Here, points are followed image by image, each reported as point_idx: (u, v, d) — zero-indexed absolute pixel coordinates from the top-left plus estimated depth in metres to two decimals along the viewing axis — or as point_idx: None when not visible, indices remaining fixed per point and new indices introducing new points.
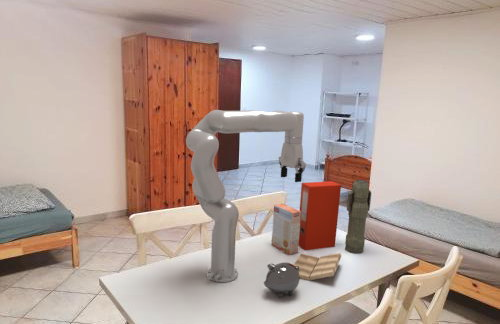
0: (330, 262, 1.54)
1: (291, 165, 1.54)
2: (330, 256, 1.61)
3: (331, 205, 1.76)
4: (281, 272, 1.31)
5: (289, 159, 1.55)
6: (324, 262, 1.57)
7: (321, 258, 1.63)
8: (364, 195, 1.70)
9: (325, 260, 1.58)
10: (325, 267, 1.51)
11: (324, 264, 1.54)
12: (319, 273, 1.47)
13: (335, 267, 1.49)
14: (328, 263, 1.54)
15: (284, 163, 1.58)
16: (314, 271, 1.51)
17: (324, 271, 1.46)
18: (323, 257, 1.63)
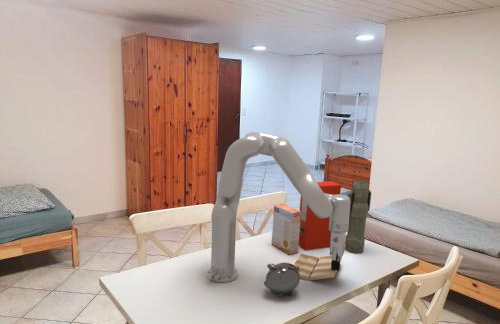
0: None
1: None
2: (331, 257, 1.61)
3: None
4: (281, 272, 1.31)
5: (344, 244, 1.45)
6: (324, 263, 1.56)
7: (321, 258, 1.63)
8: (364, 195, 1.70)
9: (325, 261, 1.58)
10: (325, 267, 1.51)
11: (324, 265, 1.54)
12: (319, 274, 1.46)
13: None
14: (328, 264, 1.54)
15: (343, 252, 1.43)
16: (314, 271, 1.51)
17: (325, 272, 1.46)
18: (323, 257, 1.63)
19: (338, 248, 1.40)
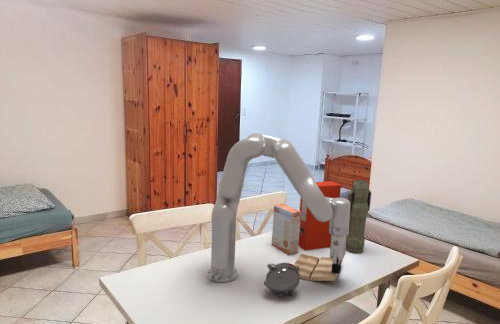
0: None
1: (345, 251, 1.47)
2: (331, 259, 1.61)
3: None
4: (281, 272, 1.31)
5: (345, 247, 1.46)
6: (325, 264, 1.56)
7: (322, 259, 1.63)
8: (364, 195, 1.70)
9: (326, 262, 1.58)
10: (326, 269, 1.51)
11: (325, 266, 1.54)
12: (320, 275, 1.46)
13: None
14: (329, 266, 1.54)
15: (343, 256, 1.43)
16: (315, 272, 1.50)
17: (326, 274, 1.46)
18: (324, 258, 1.63)
19: (338, 251, 1.40)
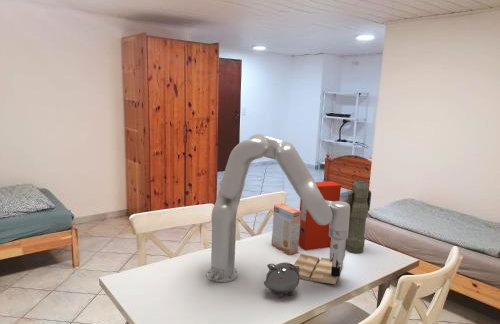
0: None
1: None
2: None
3: None
4: (281, 272, 1.31)
5: (344, 250, 1.46)
6: (326, 266, 1.56)
7: (322, 260, 1.63)
8: (364, 195, 1.70)
9: (327, 264, 1.58)
10: (327, 271, 1.51)
11: (326, 268, 1.54)
12: (321, 277, 1.46)
13: None
14: (330, 268, 1.54)
15: (343, 259, 1.43)
16: (316, 273, 1.50)
17: (327, 277, 1.46)
18: (325, 259, 1.63)
19: (338, 255, 1.40)
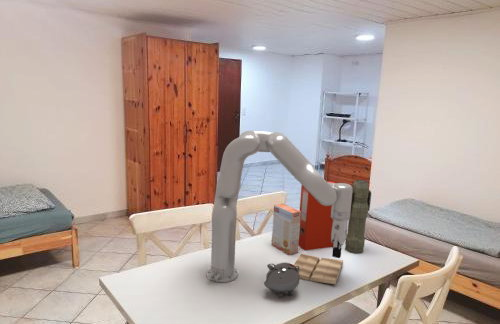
0: (333, 268, 1.54)
1: (346, 236, 1.50)
2: (332, 261, 1.61)
3: (331, 205, 1.76)
4: (281, 272, 1.31)
5: (346, 232, 1.48)
6: (326, 266, 1.56)
7: (322, 260, 1.63)
8: (364, 195, 1.70)
9: (327, 264, 1.58)
10: (327, 271, 1.51)
11: (326, 268, 1.54)
12: (321, 277, 1.46)
13: (337, 275, 1.49)
14: (330, 268, 1.54)
15: (344, 240, 1.45)
16: (316, 273, 1.50)
17: (327, 277, 1.46)
18: (325, 259, 1.63)
19: (339, 235, 1.42)
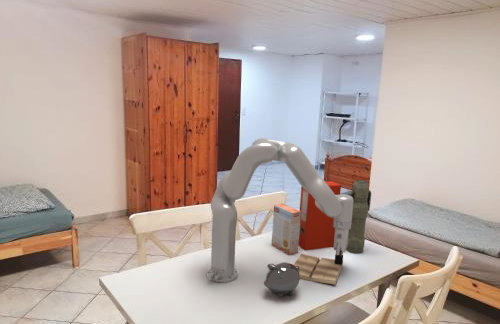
0: (333, 268, 1.54)
1: (347, 244, 1.59)
2: (332, 261, 1.61)
3: None
4: (281, 272, 1.31)
5: (347, 240, 1.57)
6: (326, 266, 1.56)
7: (323, 260, 1.63)
8: (364, 195, 1.70)
9: (327, 264, 1.58)
10: (327, 272, 1.51)
11: (326, 268, 1.54)
12: (321, 277, 1.46)
13: (337, 276, 1.49)
14: (330, 269, 1.54)
15: (346, 248, 1.54)
16: (316, 273, 1.50)
17: (327, 277, 1.46)
18: (325, 259, 1.63)
19: (341, 244, 1.51)
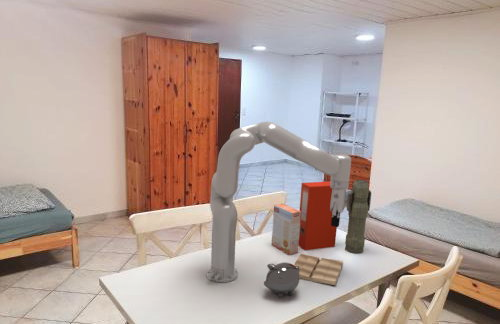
0: (333, 269, 1.54)
1: (344, 206, 1.56)
2: (332, 261, 1.61)
3: None
4: (281, 272, 1.31)
5: (344, 202, 1.54)
6: (326, 266, 1.56)
7: (323, 260, 1.63)
8: (364, 195, 1.70)
9: (327, 264, 1.58)
10: (327, 272, 1.51)
11: (326, 269, 1.54)
12: (321, 277, 1.46)
13: (337, 276, 1.49)
14: (330, 269, 1.54)
15: (343, 209, 1.52)
16: (316, 273, 1.50)
17: (327, 277, 1.46)
18: (325, 259, 1.63)
19: (338, 204, 1.49)
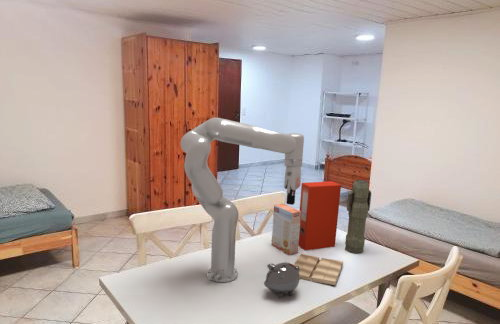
0: (333, 269, 1.54)
1: (299, 184, 1.59)
2: (332, 261, 1.61)
3: (331, 205, 1.76)
4: (281, 272, 1.31)
5: (299, 180, 1.57)
6: (326, 266, 1.56)
7: (323, 260, 1.63)
8: (364, 195, 1.70)
9: (327, 264, 1.58)
10: (327, 272, 1.51)
11: (326, 269, 1.54)
12: (321, 277, 1.46)
13: (337, 276, 1.49)
14: (330, 269, 1.54)
15: (297, 187, 1.54)
16: (316, 273, 1.50)
17: (327, 277, 1.46)
18: (325, 259, 1.63)
19: (291, 181, 1.51)
